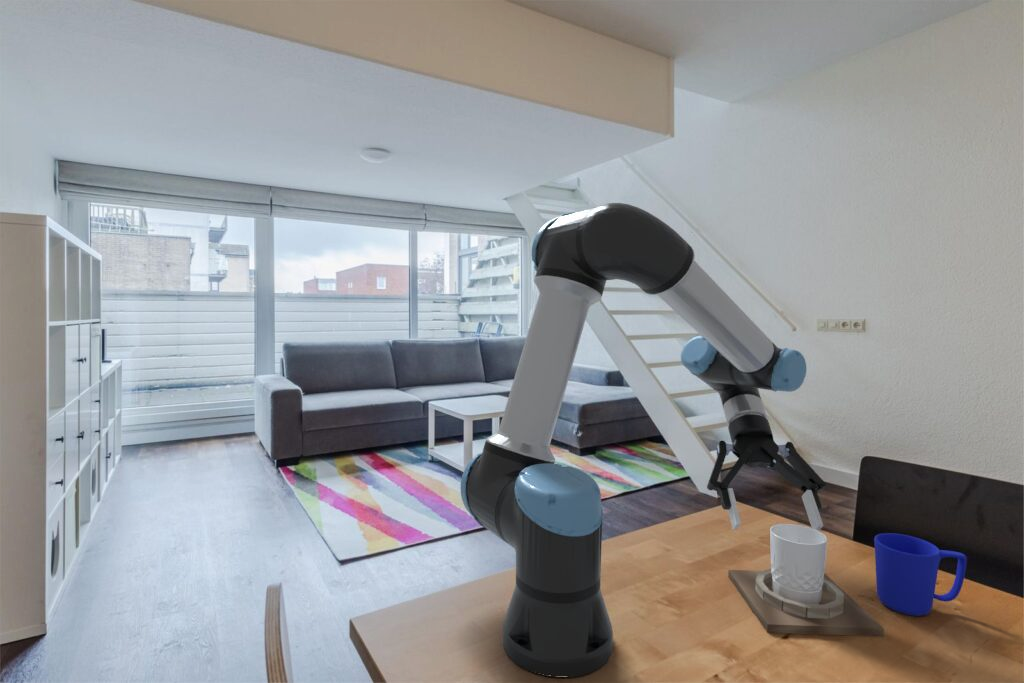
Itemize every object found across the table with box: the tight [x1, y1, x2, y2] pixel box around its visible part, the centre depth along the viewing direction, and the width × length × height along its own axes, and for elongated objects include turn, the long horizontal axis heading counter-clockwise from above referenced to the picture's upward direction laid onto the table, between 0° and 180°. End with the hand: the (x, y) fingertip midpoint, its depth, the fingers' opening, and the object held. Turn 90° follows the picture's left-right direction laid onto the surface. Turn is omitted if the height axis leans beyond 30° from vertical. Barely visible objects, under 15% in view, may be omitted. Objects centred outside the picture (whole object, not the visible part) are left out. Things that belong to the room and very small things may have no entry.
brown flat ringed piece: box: [727, 568, 885, 638], centre depth 83 cm, size 16×16×3 cm
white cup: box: [769, 523, 828, 605], centre depth 83 cm, size 8×8×10 cm
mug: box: [873, 532, 968, 617], centre depth 82 cm, size 8×12×10 cm
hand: (777, 528), depth 92 cm, fingers open, 13 cm apart
